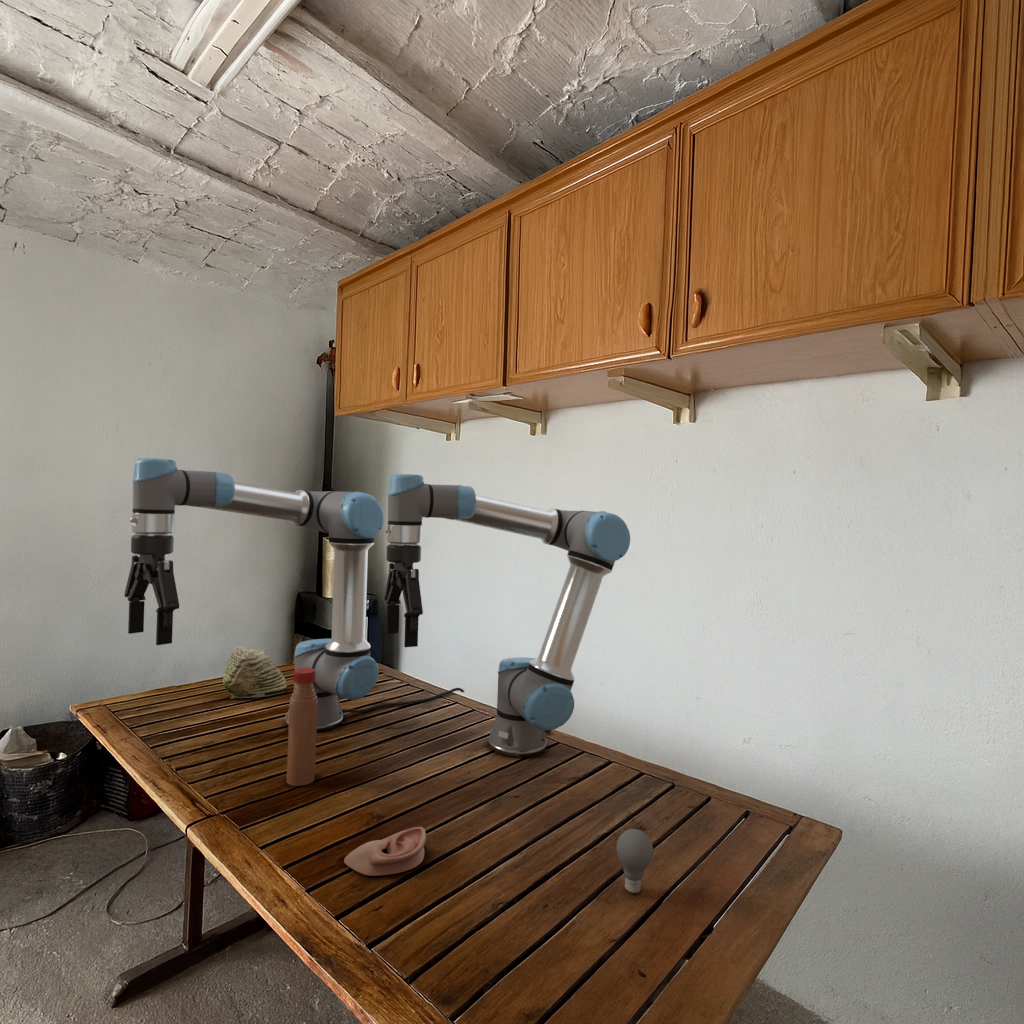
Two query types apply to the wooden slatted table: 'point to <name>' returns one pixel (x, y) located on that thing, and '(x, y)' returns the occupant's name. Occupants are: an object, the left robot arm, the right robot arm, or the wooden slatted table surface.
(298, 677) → the cap
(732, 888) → the wooden slatted table surface
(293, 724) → the bottle
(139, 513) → the left robot arm
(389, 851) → the anatomical model
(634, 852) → the light bulb
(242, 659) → the fossil
